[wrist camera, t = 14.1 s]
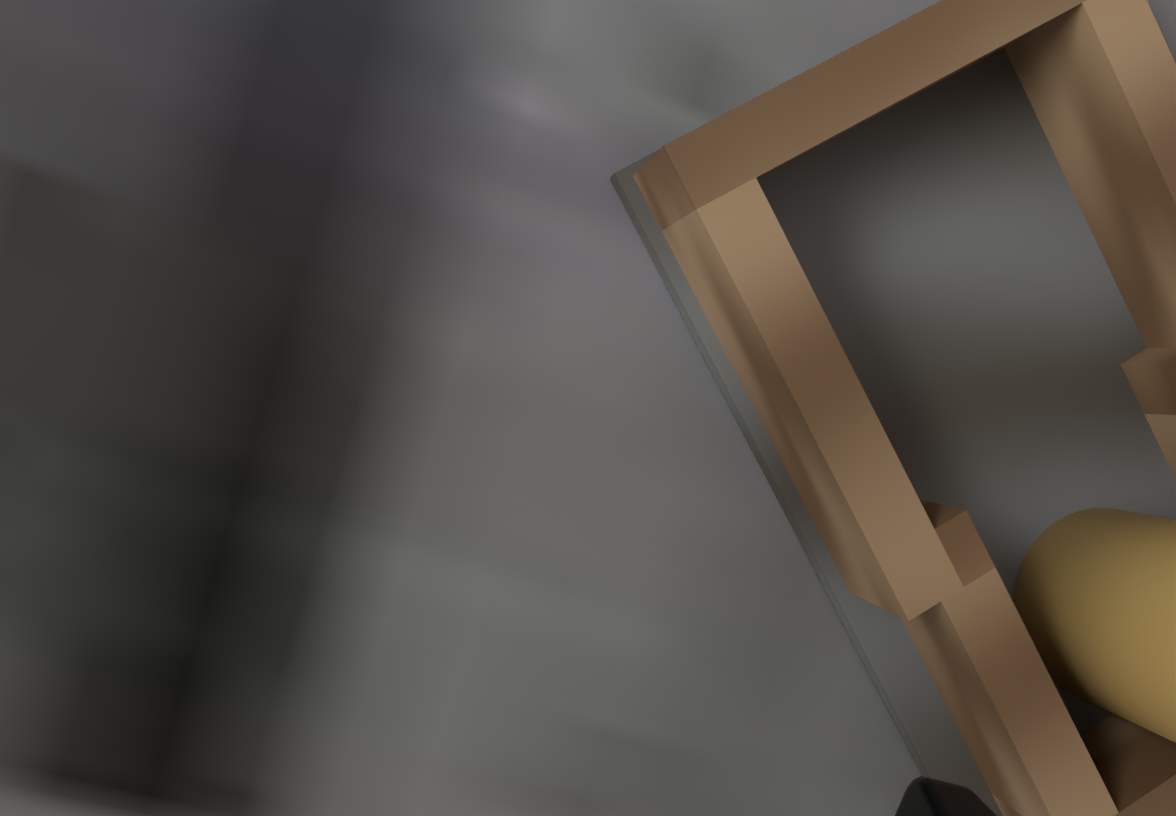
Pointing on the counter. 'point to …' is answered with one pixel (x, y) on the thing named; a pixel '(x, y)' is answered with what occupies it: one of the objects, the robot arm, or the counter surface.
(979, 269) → the frame
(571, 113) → the counter surface
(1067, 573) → the peg
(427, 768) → the counter surface
